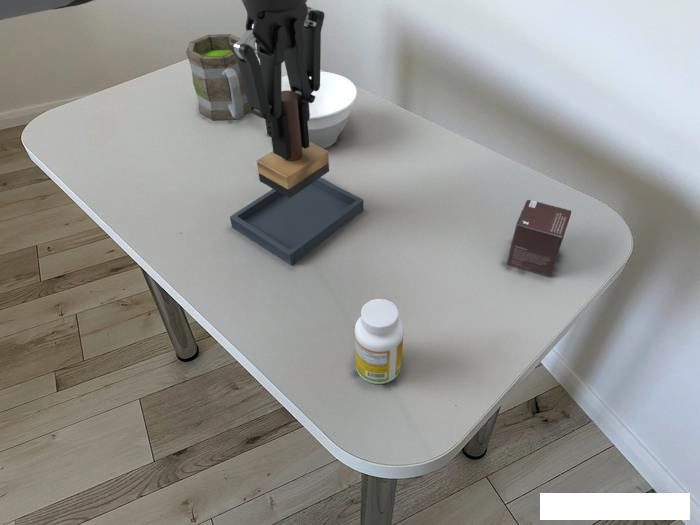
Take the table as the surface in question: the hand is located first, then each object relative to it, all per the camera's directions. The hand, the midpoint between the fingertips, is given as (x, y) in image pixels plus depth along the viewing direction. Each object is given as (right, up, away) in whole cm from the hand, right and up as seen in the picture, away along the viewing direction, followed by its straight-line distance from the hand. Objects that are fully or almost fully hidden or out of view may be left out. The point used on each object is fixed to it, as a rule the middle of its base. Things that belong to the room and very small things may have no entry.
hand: (291, 149), depth 78 cm
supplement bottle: (+11, -28, -11) cm, 32 cm away
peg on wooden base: (0, -3, +3) cm, 4 cm away
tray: (0, -9, +9) cm, 12 cm away
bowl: (+1, +7, +25) cm, 26 cm away
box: (+33, -15, +2) cm, 37 cm away
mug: (-15, +13, +31) cm, 37 cm away
